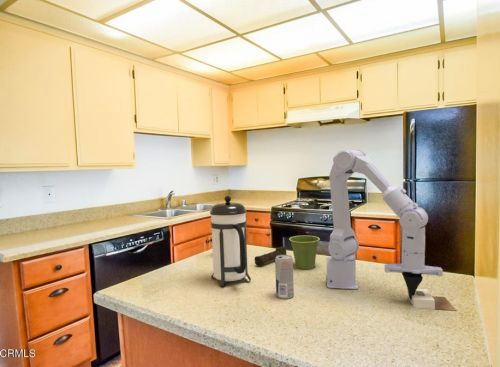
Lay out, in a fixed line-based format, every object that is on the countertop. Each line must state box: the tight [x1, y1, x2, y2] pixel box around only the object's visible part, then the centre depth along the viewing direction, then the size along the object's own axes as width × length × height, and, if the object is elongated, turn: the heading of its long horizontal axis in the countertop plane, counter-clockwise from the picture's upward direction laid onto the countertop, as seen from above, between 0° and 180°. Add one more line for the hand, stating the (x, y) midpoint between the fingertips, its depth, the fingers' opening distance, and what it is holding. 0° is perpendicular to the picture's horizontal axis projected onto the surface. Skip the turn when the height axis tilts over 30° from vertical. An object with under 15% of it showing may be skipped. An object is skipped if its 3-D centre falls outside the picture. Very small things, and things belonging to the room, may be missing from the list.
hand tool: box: [254, 246, 288, 267], centre depth 136 cm, size 19×4×5 cm, turn 135°
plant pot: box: [288, 234, 321, 270], centre depth 127 cm, size 12×12×11 cm
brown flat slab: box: [431, 295, 457, 312], centre depth 90 cm, size 5×9×1 cm, turn 166°
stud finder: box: [407, 288, 435, 310], centre depth 91 cm, size 5×8×3 cm, turn 166°
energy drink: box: [274, 254, 295, 300], centre depth 99 cm, size 5×5×12 cm
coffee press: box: [209, 195, 252, 288], centre depth 113 cm, size 17×16×30 cm
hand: (411, 298), depth 91 cm, fingers closed, pressing on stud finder
